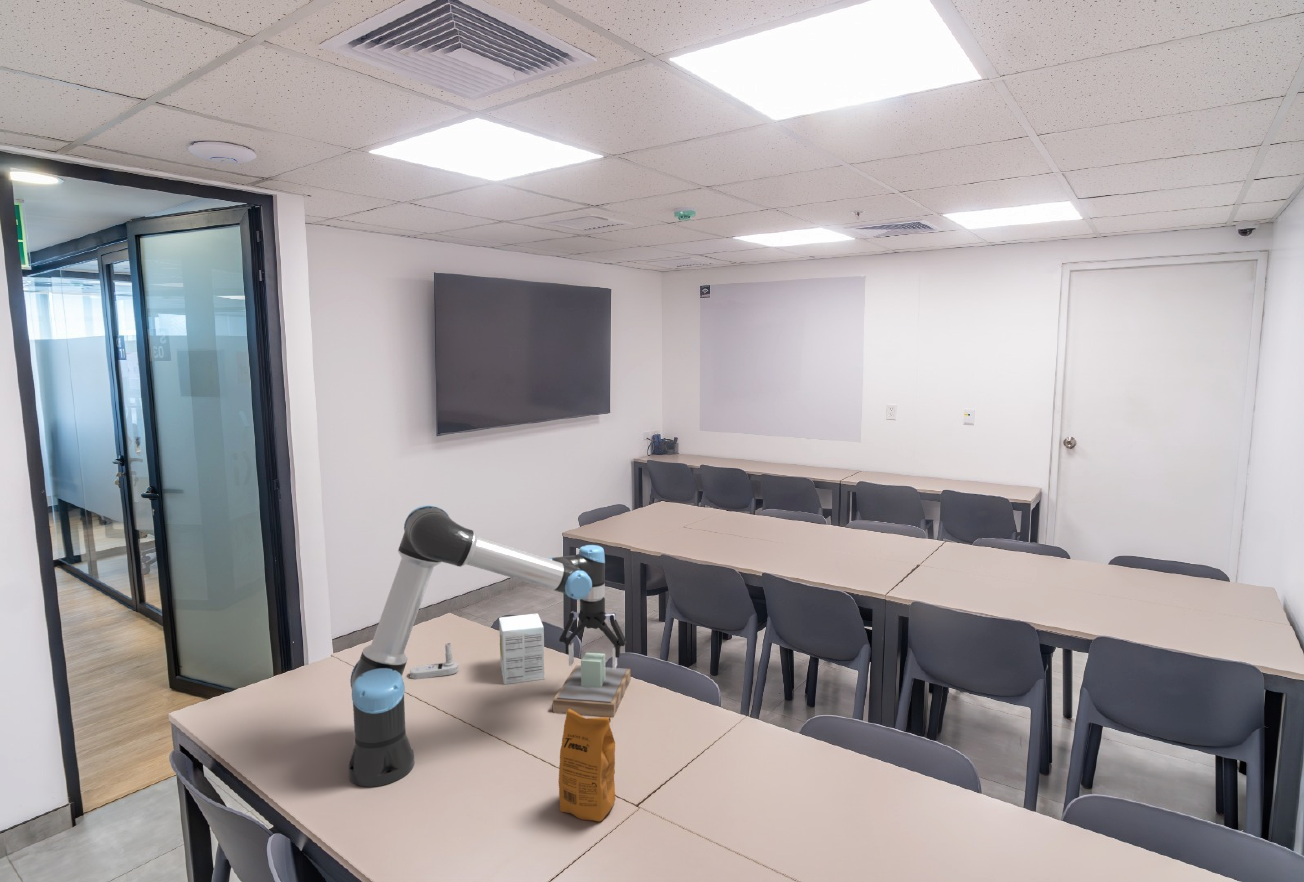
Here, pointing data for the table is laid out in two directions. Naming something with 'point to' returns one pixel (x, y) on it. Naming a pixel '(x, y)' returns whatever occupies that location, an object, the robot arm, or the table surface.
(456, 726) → the table surface
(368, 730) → the robot arm
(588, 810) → the coffee package
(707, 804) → the table surface
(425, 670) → the electronic device
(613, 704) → the base
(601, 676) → the sage block
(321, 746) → the table surface
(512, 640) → the supplement box
